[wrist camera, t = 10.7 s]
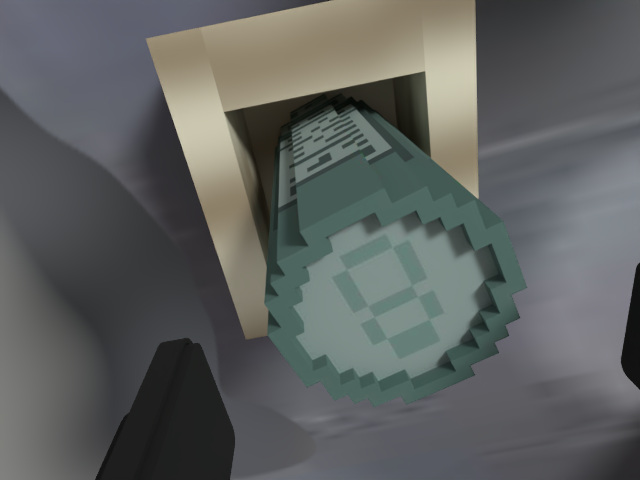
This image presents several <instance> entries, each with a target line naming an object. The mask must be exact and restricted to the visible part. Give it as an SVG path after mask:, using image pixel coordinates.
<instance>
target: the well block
mask: <svg viewBox="0 0 640 480" xmlns="http://www.w3.org/2000/svg"><path fill="white" fill-rule="evenodd" d="M146 41H147V44H148V47H149V50H150V53H151V56H152V59H153V62H154V65H155V68H156V71H157V74H158V77H159V80H160V83H161V86H162V89H163V92H164V95H165V98H166V101H167V104H168V107H169V110H170V113H171V116H172V119H173V122H174V125H175V128H176V131H177V134H178V137H179V140H180V143H181V146H182V149H183V152H184V155H185V158H186V161H187V164H188V167H189V170H190V173H191V176H192V179H193V182H194V185H195V188H196V191H197V194H198V197H199V200H200V203H201V206H202V209H203V212H204V215H205V218H206V221H207V224H208V227H209V230H210V233H211V236H212V239H213V242H214V245H215V248H216V251H217V254H218V257H219V260H220V263H221V266H222V269H223V272H224V275H225V278H226V281H227V284H228V287H229V290H230V293H231V296H232V299H233V302H234V305H235V308H236V311H237V314H238V317H239V320H240V323H241V326H242V329H243V332H244V335H245V338H246V340H247V339H252V338H257V337H263V336H268V335H267V328H268V308H267V307H266V306H265V304H264V299H265V285H266V271H267V258H268V244H269V230H270V216H271V202H272V188H273V175H274V161H275V147H277V146H278V137H279V136H281V126H283V125H285V124H287V123H289V122H290V121H291V115H290V112H292V111H294V110H296V109H298V108H299V107H301V106H303V105H305V104H306V103H308V102H310V101H312V100H313V99H315V98H317V97H319V96H321V95H322V94H325V96H326V97H327V99H328V100H330V99H331V98H333V97H335V96H337V95H339V94H340V93H342V94H343V96H344V97H345V98H346V99H347V98H349V97H351V96H352V97H353V98H354V99H355V100H356V101H357V102H358V101H360V100H363V101H364V102H365V103H366V104H367V105H368V106H369V107H371V108H372V109H373V110H376V111H377V112H378V113H379V114H380V115H382V116H383V117H384V118H385V119H386V120H387V121H388V122H390V123H391V124H392V125H393V126H394V127H395V128H397V129H398V130H399V131H400V132H401V133H402V134H403V135H405V136H406V137H407V138H408V139H409V140H410V141H412V142H413V143H414V144H415V145H416V146H417V147H418V148H420V149H421V150H422V151H423V152H424V153H425V154H427V155H428V156H429V157H430V158H431V159H432V160H433V161H435V162H436V163H437V164H438V165H439V166H440V167H442V168H443V169H444V170H445V171H446V172H447V173H449V174H450V175H451V176H452V177H453V178H454V179H455V180H457V181H458V182H459V183H460V184H461V185H462V186H464V187H465V188H466V189H467V190H468V191H469V192H470V193H472V194H473V195H474V196H475V197H476V198H477V199H478V143H477V79H476V15H475V0H332V1H327V2H322V3H317V4H312V5H307V6H303V7H298V8H293V9H288V10H283V11H278V12H273V13H269V14H264V15H259V16H254V17H249V18H244V19H239V20H234V21H230V22H225V23H220V24H215V25H210V26H205V27H200V28H196V29H191V30H186V31H181V32H176V33H171V34H166V35H161V36H157V37H152V38H147V39H146Z"/></svg>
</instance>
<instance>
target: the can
mask: <svg viewBox="0 0 640 480" xmlns="http://www.w3.org/2000/svg"><path fill="white" fill-rule="evenodd" d="M290 115H291V121H290V122H289V123H287V124H285V125H283V126H281V136H279V137H278V146H277V147H275V161H274V175H273V188H272V202H271V216H270V230H269V244H268V258H267V271H266V285H265V299H264V304H265V306H266V307H267V308H268V328H267V335H268V337H269V338H270V339H271V341H272V342H273V343H274V345H275V346H276V347H277V348H278V350H279V351H280V352H281V354H282V355H283V356H284V358H285V359H286V360H287V362H288V363H289V364H290V366H291V367H292V368H293V370H294V371H295V372H296V374H297V375H298V376H299V378H300V379H301V380H302V382H303V383H304V384H305V386H306V387H309V386H311V385H314V384H316V383H318V382H320V381H321V383H322V384H323V385H324V387H325V388H326V390H327V391H328V392H329V394H330V395H331V396H332V398H333V399H334V401H335V400H337V399H339V398H341V397H344V396H346V395H349V397H350V398H351V400H352V401H353V403H354V404H355V403H358V402H360V401H362V400H365V399H367V398H368V399H369V401H370V402H371V404H372V405H373V407H376V406H378V405H380V404H383V403H385V402H387V401H389V400H392V399H394V398H396V397H399V396H401V397H402V398H403V400H404V402H405V403H406V405H407V404H409V403H412V402H414V401H416V400H419V399H421V398H423V397H426V396H428V395H430V394H433V393H435V392H437V391H440V390H442V389H444V388H447V387H449V386H451V385H453V384H456V383H458V382H460V381H463V380H465V379H467V378H470V377H472V376H474V375H475V374H474V372H473V370H472V368H471V366H470V365H472V364H475V363H477V362H479V361H481V360H484V359H486V358H488V357H491V356H493V355H495V354H498V353H499V352H498V349H497V347H496V345H495V342H497V341H499V340H501V339H503V338H506V337H508V336H509V334H508V331H507V329H506V326H505V325H506V324H508V323H510V322H513V321H515V320H517V319H519V318H520V316H519V314H518V311H517V309H516V306H515V303H514V301H513V298H512V294H514V293H516V292H519V291H521V290H523V289H525V288H527V286H526V283H525V280H524V278H523V275H522V272H521V269H520V266H519V264H518V261H517V258H516V255H515V252H514V249H513V247H512V244H511V241H510V238H509V235H508V233H507V230H506V227H505V224H504V221H503V220H502V219H500V218H499V217H498V216H497V215H496V214H495V213H494V212H492V211H491V210H490V209H489V208H488V207H487V206H485V205H484V204H483V203H482V202H481V201H480V200H479V199H477V198H476V197H475V196H474V195H473V194H472V193H470V192H469V191H468V190H467V189H466V188H465V187H464V186H462V185H461V184H460V183H459V182H458V181H457V180H455V179H454V178H453V177H452V176H451V175H450V174H449V173H447V172H446V171H445V170H444V169H443V168H442V167H440V166H439V165H438V164H437V163H436V162H435V161H433V160H432V159H431V158H430V157H429V156H428V155H427V154H425V153H424V152H423V151H422V150H421V149H420V148H418V147H417V146H416V145H415V144H414V143H413V142H412V141H410V140H409V139H408V138H407V137H406V136H405V135H403V134H402V133H401V132H400V131H399V130H398V129H397V128H395V127H394V126H393V125H392V124H391V123H390V122H388V121H387V120H386V119H385V118H384V117H383V116H382V115H380V114H379V113H378V112H377V111H376V110H373V109H372V108H371V107H369V106H368V105H367V104H366V103H365V102H364V101H363V100H360V101H358V102H357V101H356V100H355V99H354V98H353V97H352V96H351V97H349V98H347V99H346V98H345V97H344V96H343V94H342V93H340V94H339V95H337V96H335V97H333V98H331V99H330V100H328V99H327V97H326V96H325V94H322V95H321V96H319V97H317V98H315V99H313V100H312V101H310V102H308V103H306V104H305V105H303V106H301V107H299V108H298V109H296V110H294V111H292V112H290Z"/></svg>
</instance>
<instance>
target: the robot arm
mask: <svg viewBox="0 0 640 480" xmlns="http://www.w3.org/2000/svg"><path fill="white" fill-rule="evenodd" d="M621 365H622V368H623V371H624V372H625V374H626V376H627V377H628V378H629V379H630V380H631V381H632V382H633V383H634V384H635V385H636V386H637V387H638V388H639V389H640V263H639V264H638V265H637V268H636V272H635V278H634V284H633V290H632V296H631V302H630V308H629V314H628V320H627V326H626V332H625V338H624V344H623V350H622V356H621ZM234 448H235V436H234V430H233V427H232V424H231V421H230V419H229V416H228V414H227V411H226V409H225V406H224V403H223V401H222V398H221V396H220V393H219V391H218V388H217V385H216V383H215V380H214V378H213V375H212V373H211V370H210V367H209V365H208V363H207V360H206V357H205V355H204V352H203V350H202V347H201V345H200V344H198V343H195V344H193V343H192V341H191V340H190V339H189V338H184V339H178V340H173V341H167V342H163V343H161V344H160V345H159V346H158V348H157V351H156V353H155V355H154V357H153V360H152V362H151V364H150V366H149V369H148V371H147V373H146V376H145V378H144V380H143V383H142V385H141V387H140V389H139V392H138V394H137V396H136V399H135V401H134V403H133V405H132V408H131V410H130V412H129V413H128V414H127V415H126V416H125V417H124V418H123V420H122V421H121V423H120V425H119V428H118V430H117V432H116V434H115V436H114V439H113V441H112V443H111V445H110V448H109V450H108V452H107V454H106V457H105V459H104V461H103V463H102V466H101V468H100V470H99V472H98V474H97V476H96V479H95V480H230V475H231V468H232V461H233V454H234Z"/></svg>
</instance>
